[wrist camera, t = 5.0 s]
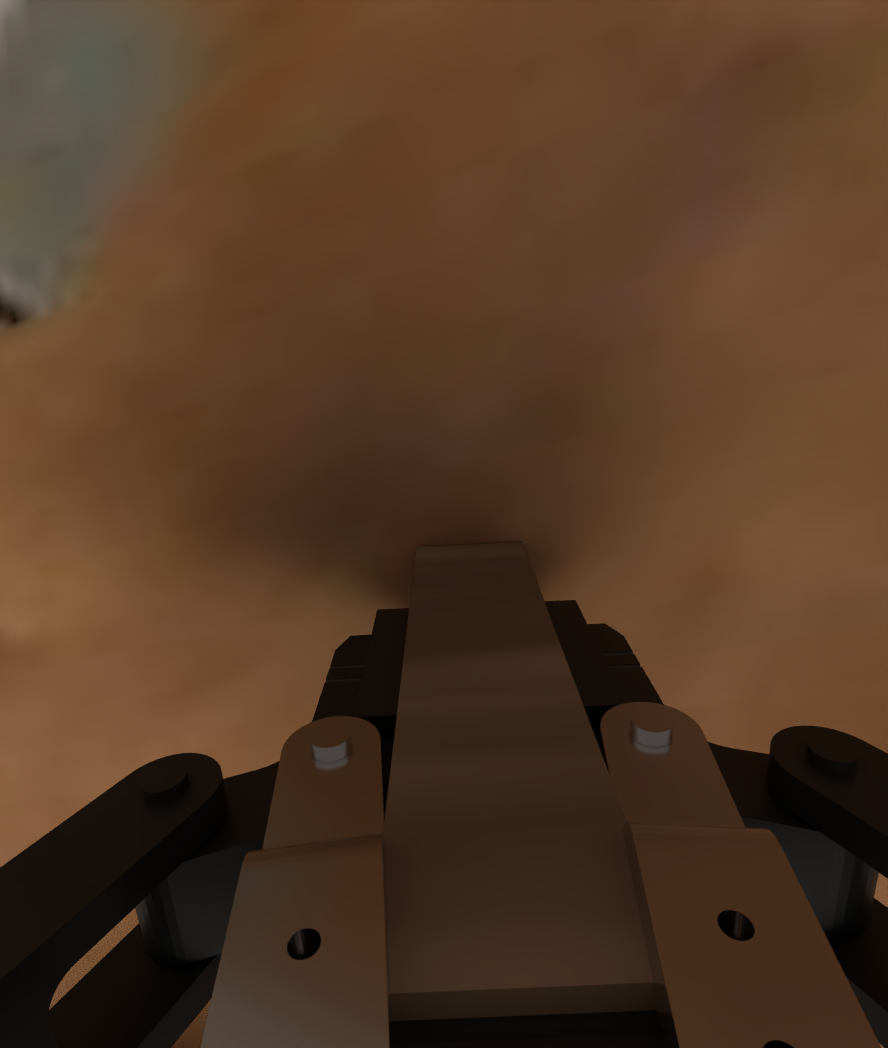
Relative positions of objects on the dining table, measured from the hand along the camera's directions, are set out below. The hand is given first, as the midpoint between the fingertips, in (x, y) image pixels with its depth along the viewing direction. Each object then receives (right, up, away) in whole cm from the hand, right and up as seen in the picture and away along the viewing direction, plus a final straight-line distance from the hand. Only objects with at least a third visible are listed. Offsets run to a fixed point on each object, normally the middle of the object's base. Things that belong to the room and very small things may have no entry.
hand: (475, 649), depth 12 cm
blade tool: (+1, -8, +5) cm, 10 cm away
